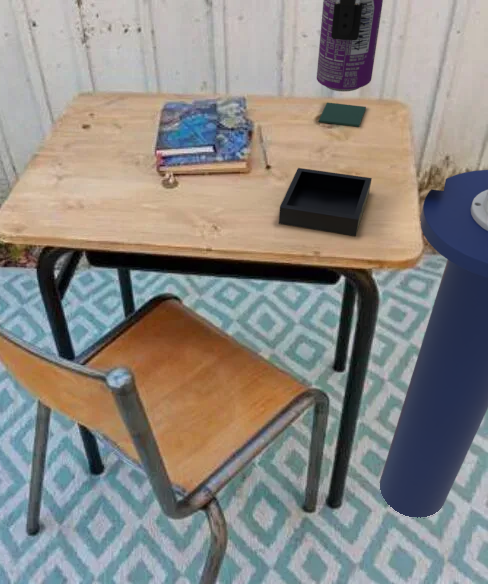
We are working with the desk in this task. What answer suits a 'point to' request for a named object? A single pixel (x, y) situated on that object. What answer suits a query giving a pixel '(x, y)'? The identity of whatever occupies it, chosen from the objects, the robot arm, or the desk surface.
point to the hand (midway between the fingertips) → (349, 25)
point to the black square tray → (325, 201)
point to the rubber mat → (342, 114)
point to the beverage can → (348, 49)
